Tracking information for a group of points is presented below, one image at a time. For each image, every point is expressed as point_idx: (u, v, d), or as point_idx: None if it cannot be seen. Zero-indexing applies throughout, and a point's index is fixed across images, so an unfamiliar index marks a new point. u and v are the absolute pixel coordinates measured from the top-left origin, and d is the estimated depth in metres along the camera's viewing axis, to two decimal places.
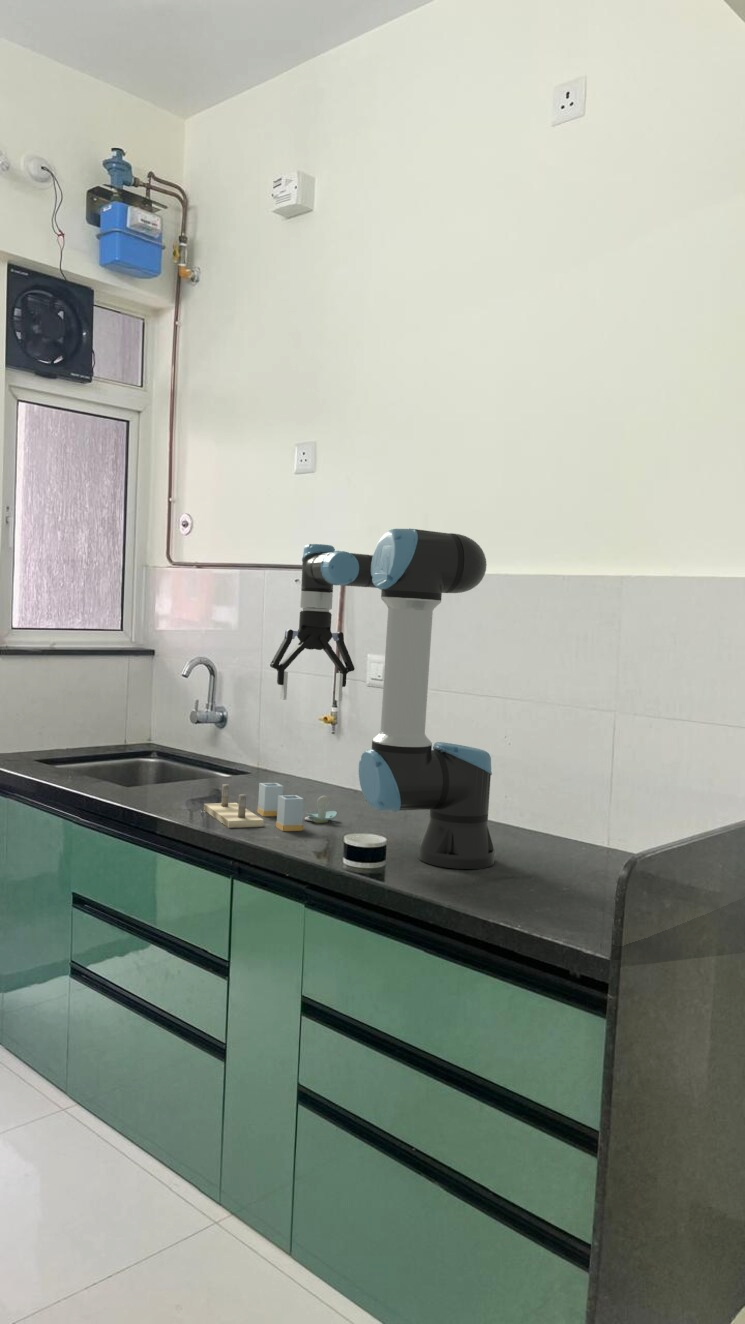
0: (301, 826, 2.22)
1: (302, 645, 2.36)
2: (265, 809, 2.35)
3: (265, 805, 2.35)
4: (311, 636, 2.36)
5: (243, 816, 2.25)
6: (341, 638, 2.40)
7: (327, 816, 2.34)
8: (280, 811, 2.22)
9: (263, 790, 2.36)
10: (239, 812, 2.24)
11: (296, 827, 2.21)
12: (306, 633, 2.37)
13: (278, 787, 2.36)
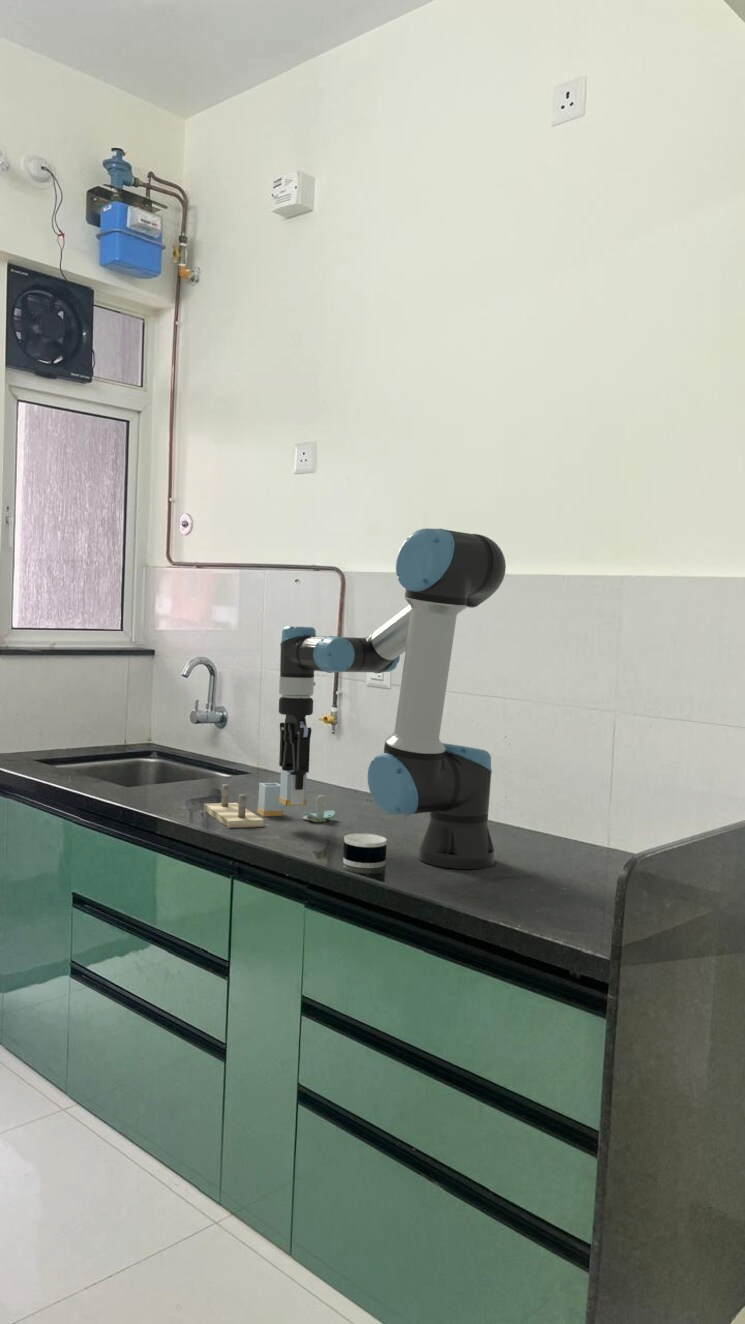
0: (304, 801, 2.21)
1: (284, 737, 2.23)
2: (265, 809, 2.35)
3: (265, 805, 2.35)
4: (284, 724, 2.23)
5: (243, 816, 2.25)
6: (299, 734, 2.16)
7: (325, 815, 2.35)
8: (283, 786, 2.21)
9: (263, 790, 2.36)
10: (239, 812, 2.24)
11: None
12: (286, 719, 2.24)
13: (278, 787, 2.36)
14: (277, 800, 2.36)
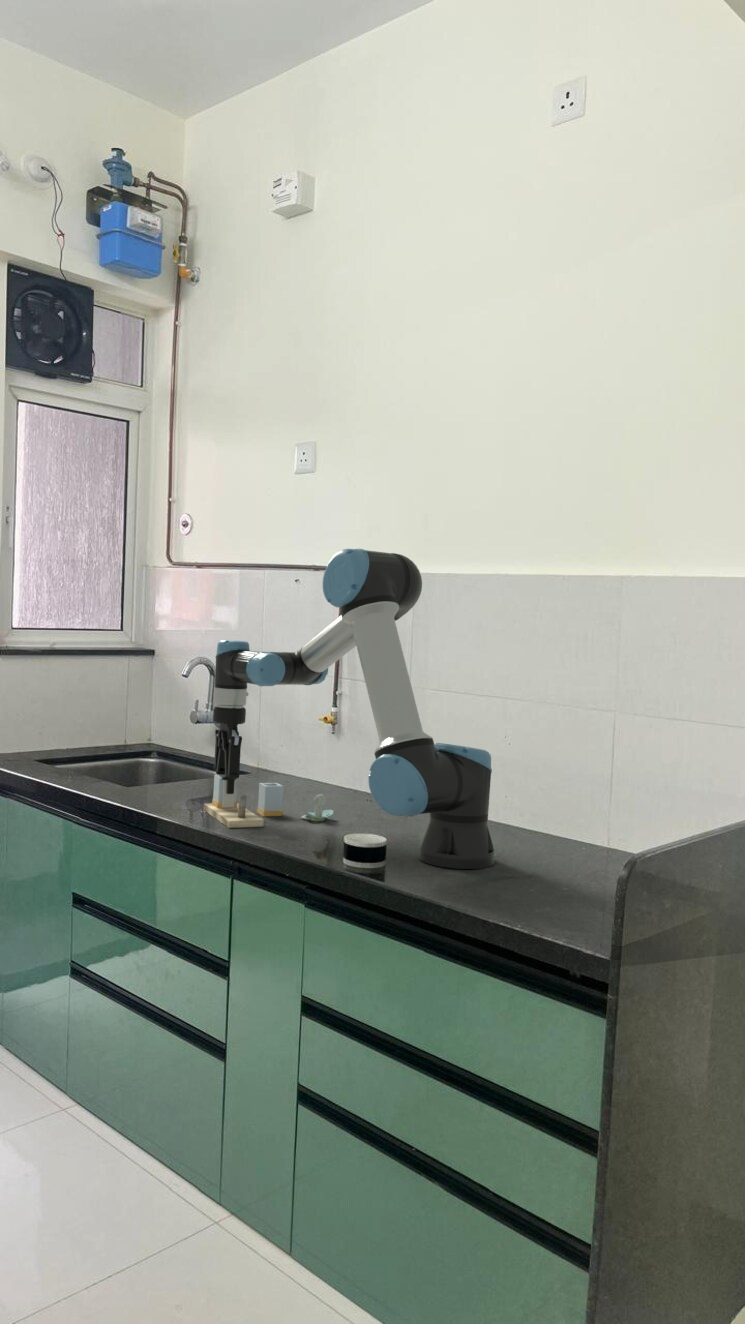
0: (235, 803, 2.36)
1: (218, 743, 2.38)
2: (265, 809, 2.35)
3: (265, 805, 2.35)
4: (218, 731, 2.37)
5: (243, 816, 2.25)
6: (230, 742, 2.31)
7: (324, 815, 2.35)
8: (216, 789, 2.36)
9: (263, 790, 2.36)
10: (239, 812, 2.24)
11: None
12: (221, 727, 2.38)
13: (278, 787, 2.36)
14: (277, 800, 2.36)
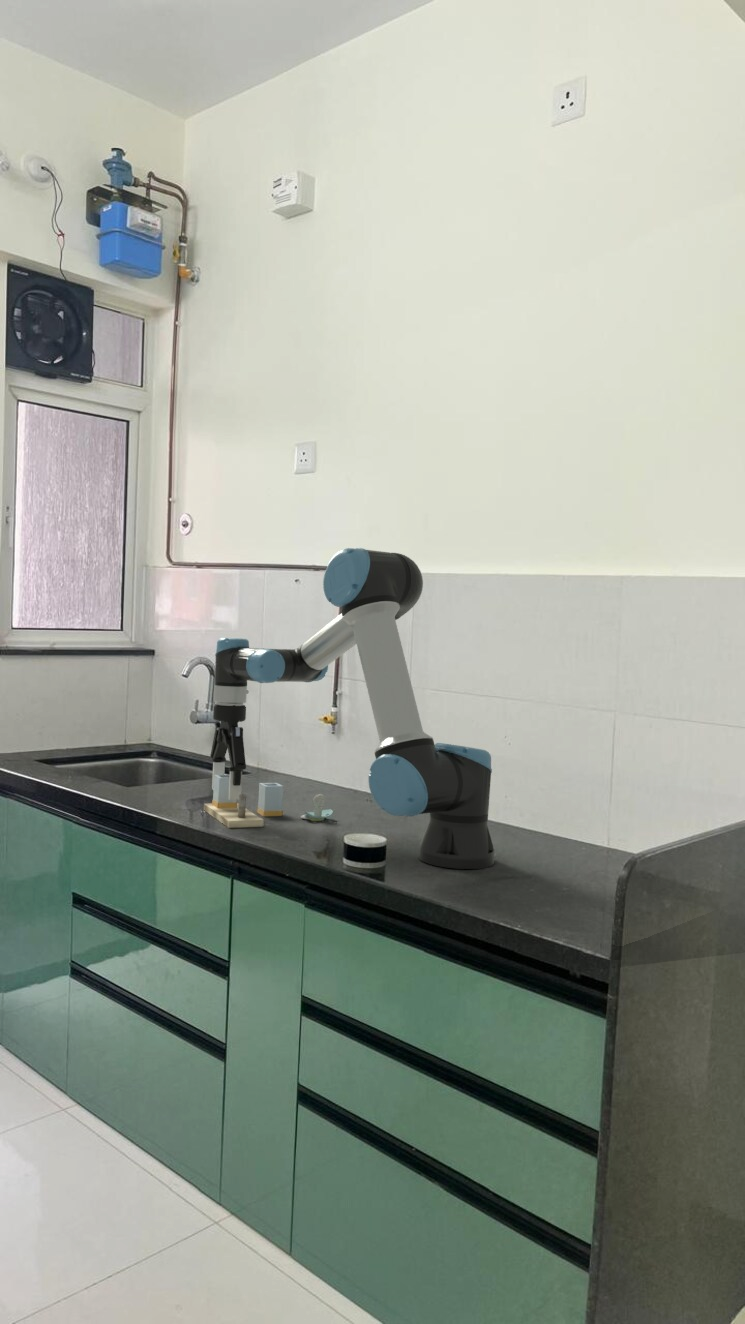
0: (235, 803, 2.36)
1: (217, 737, 2.38)
2: (265, 809, 2.35)
3: (265, 805, 2.35)
4: (219, 729, 2.36)
5: (243, 816, 2.25)
6: (232, 734, 2.30)
7: (323, 814, 2.36)
8: (215, 789, 2.36)
9: (263, 790, 2.36)
10: (239, 812, 2.24)
11: (230, 804, 2.35)
12: (221, 726, 2.38)
13: (278, 787, 2.36)
14: (277, 800, 2.36)
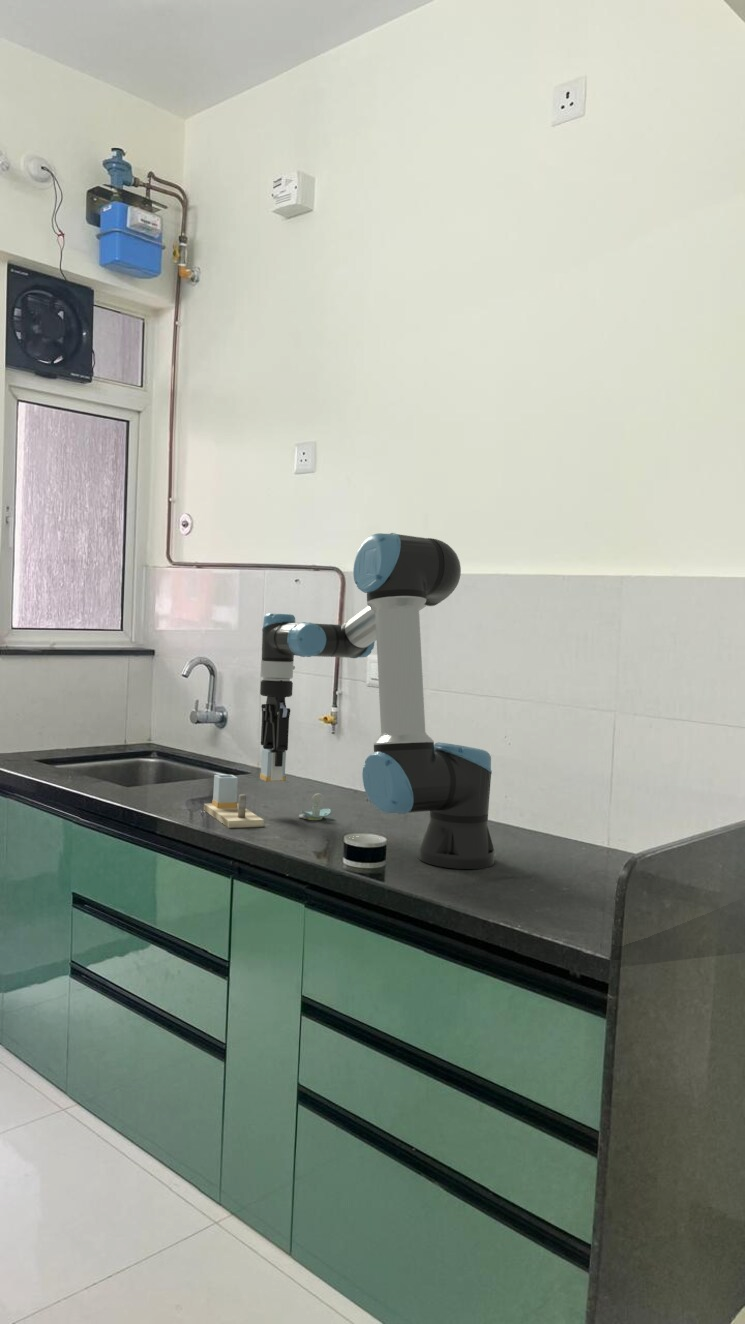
0: (235, 803, 2.36)
1: (265, 717, 2.38)
2: (268, 774, 2.34)
3: (267, 770, 2.34)
4: (265, 705, 2.37)
5: (243, 816, 2.25)
6: (279, 714, 2.31)
7: (321, 814, 2.36)
8: (215, 789, 2.36)
9: (266, 755, 2.35)
10: (239, 812, 2.24)
11: (230, 804, 2.35)
12: (267, 701, 2.39)
13: None
14: None
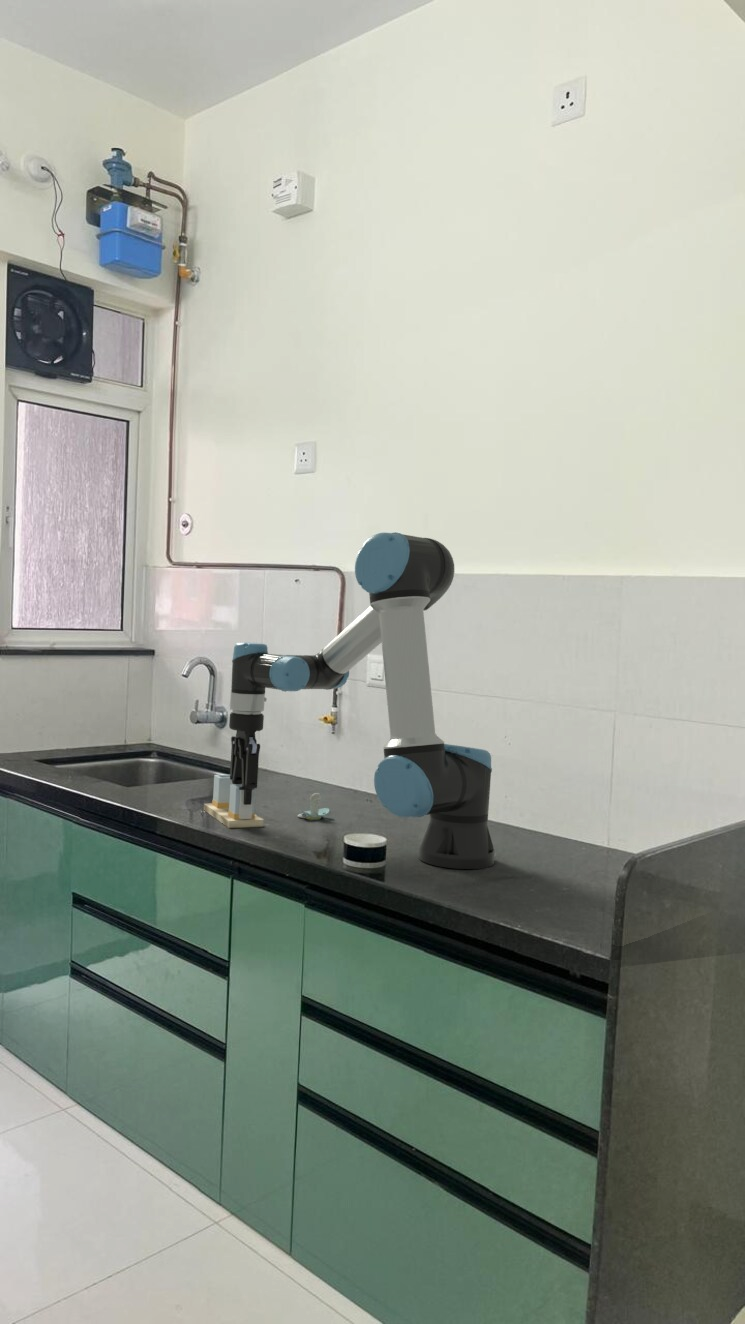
0: None
1: (234, 751, 2.26)
2: (236, 812, 2.22)
3: (235, 807, 2.22)
4: (235, 739, 2.25)
5: None
6: (248, 750, 2.19)
7: (320, 813, 2.37)
8: (215, 789, 2.36)
9: (234, 792, 2.23)
10: None
11: None
12: (237, 734, 2.26)
13: None
14: None
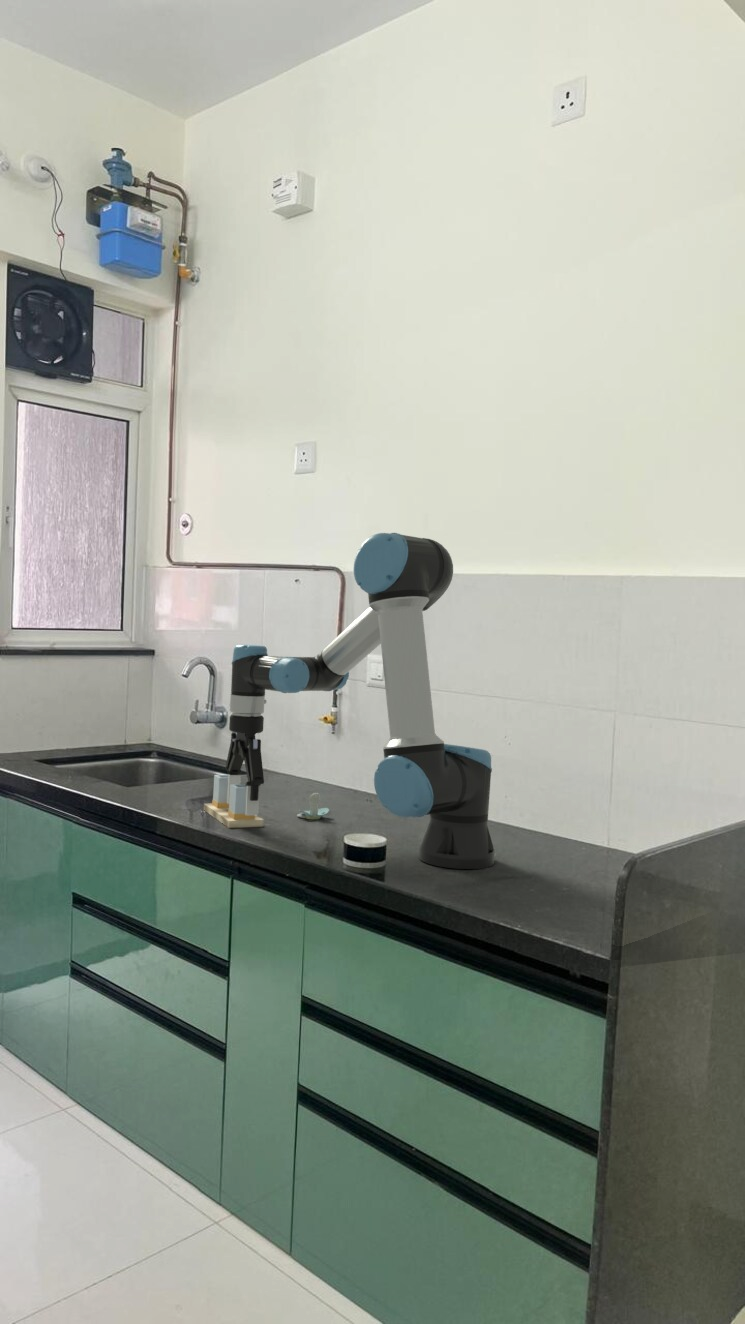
0: None
1: (233, 749, 2.27)
2: (236, 812, 2.22)
3: (235, 807, 2.22)
4: (235, 741, 2.25)
5: None
6: (249, 746, 2.18)
7: (319, 813, 2.37)
8: (215, 789, 2.36)
9: (234, 792, 2.23)
10: None
11: None
12: (237, 737, 2.26)
13: None
14: None
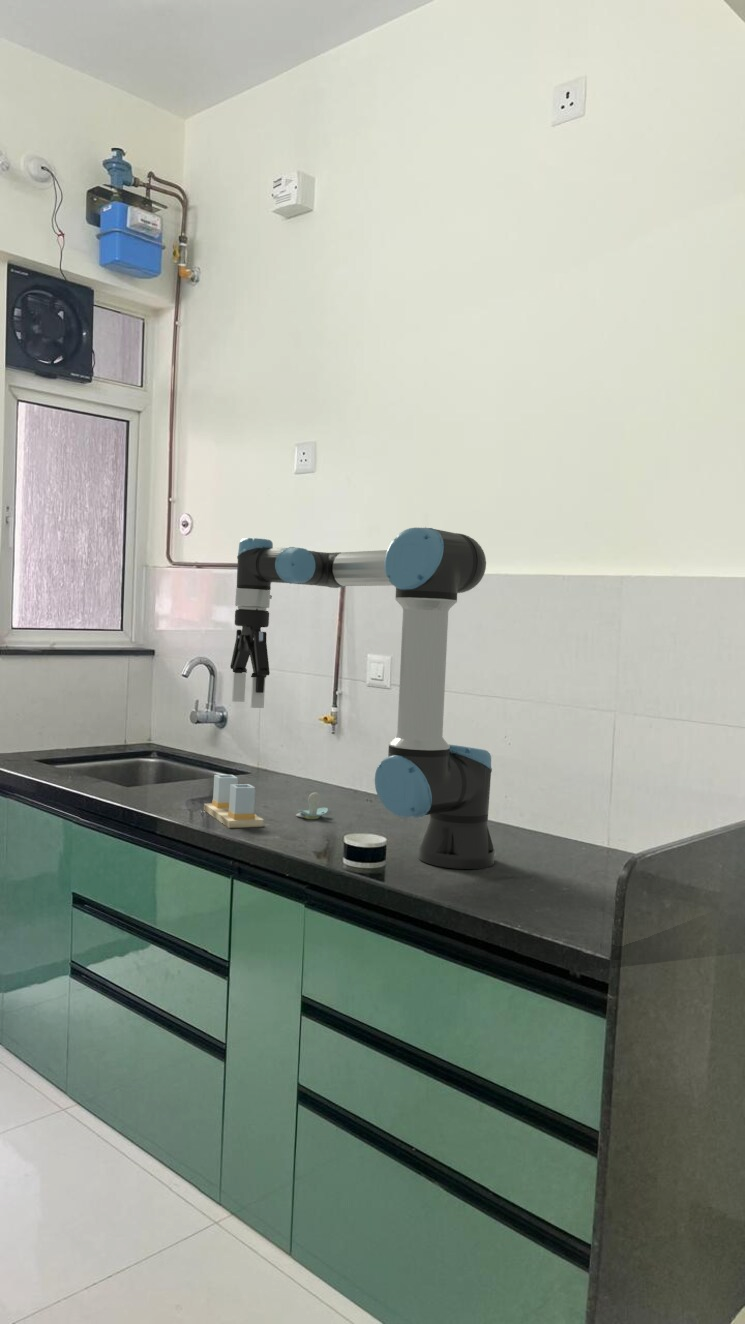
0: None
1: (238, 645, 2.26)
2: (236, 812, 2.22)
3: (235, 807, 2.22)
4: (240, 636, 2.24)
5: None
6: (254, 638, 2.17)
7: (318, 813, 2.38)
8: (215, 789, 2.36)
9: (234, 792, 2.23)
10: None
11: None
12: (243, 633, 2.25)
13: (250, 789, 2.23)
14: (249, 802, 2.23)
